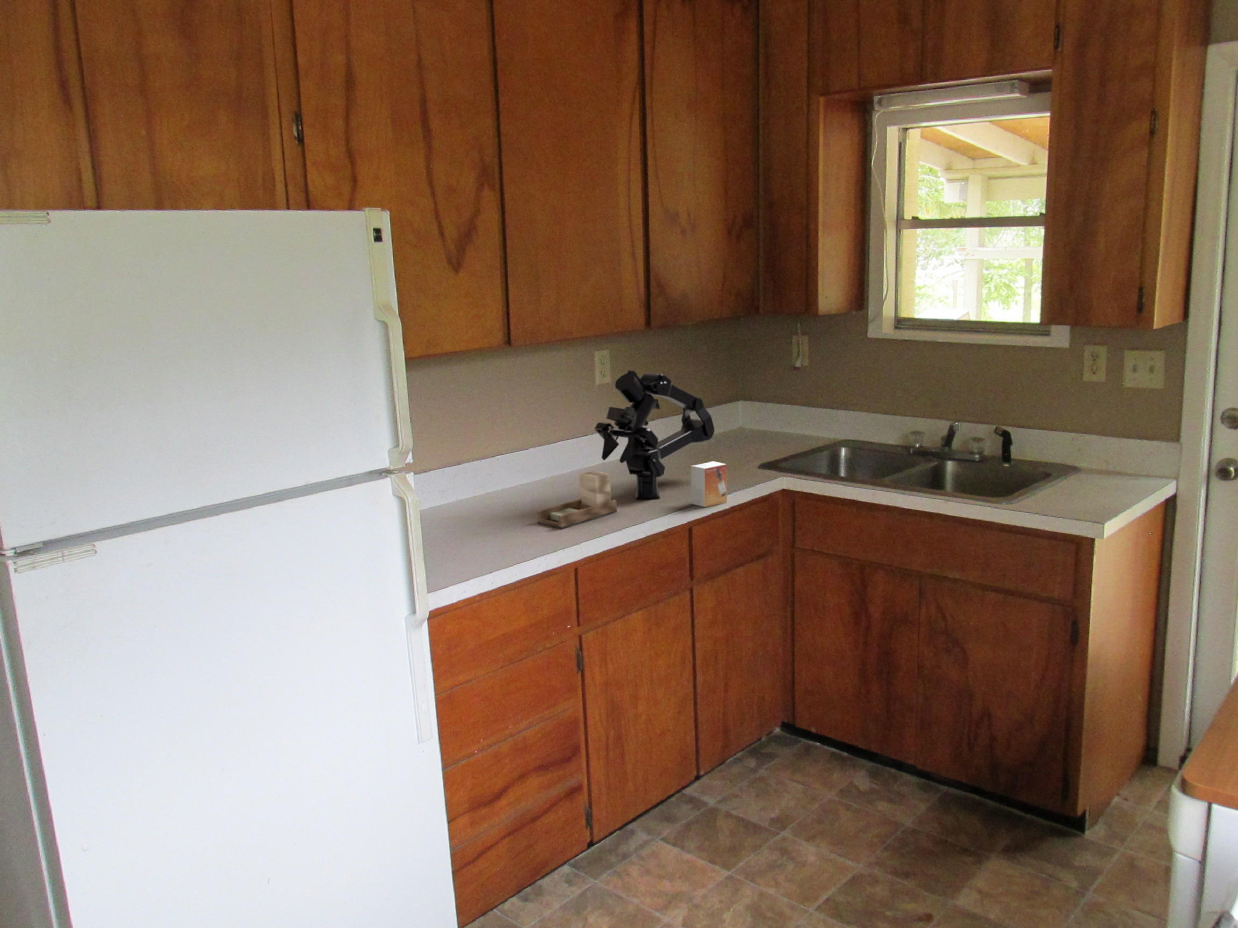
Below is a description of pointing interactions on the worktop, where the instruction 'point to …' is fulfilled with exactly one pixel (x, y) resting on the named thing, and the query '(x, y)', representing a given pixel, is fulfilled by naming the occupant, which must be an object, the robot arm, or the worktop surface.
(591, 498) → the block
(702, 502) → the small box
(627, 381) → the robot arm
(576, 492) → the worktop surface
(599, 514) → the track
